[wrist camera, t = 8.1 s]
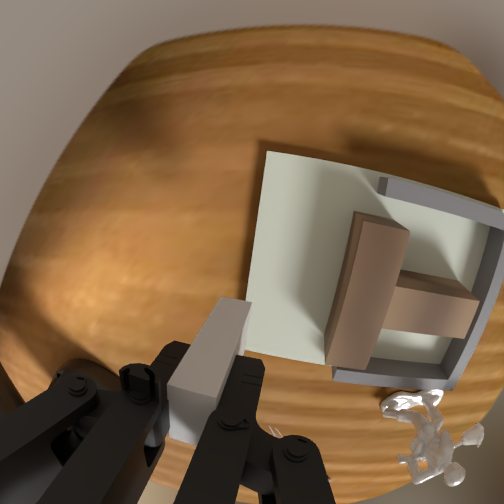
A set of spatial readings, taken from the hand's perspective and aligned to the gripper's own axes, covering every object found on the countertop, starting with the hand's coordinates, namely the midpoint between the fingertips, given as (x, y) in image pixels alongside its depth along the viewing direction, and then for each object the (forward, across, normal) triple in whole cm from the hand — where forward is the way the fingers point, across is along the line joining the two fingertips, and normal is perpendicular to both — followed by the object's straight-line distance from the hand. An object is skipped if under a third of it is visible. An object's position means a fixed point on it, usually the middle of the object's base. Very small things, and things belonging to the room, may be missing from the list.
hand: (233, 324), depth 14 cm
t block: (+8, +11, 0) cm, 14 cm away
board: (+9, +10, 0) cm, 13 cm away
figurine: (+10, +18, -11) cm, 23 cm away
